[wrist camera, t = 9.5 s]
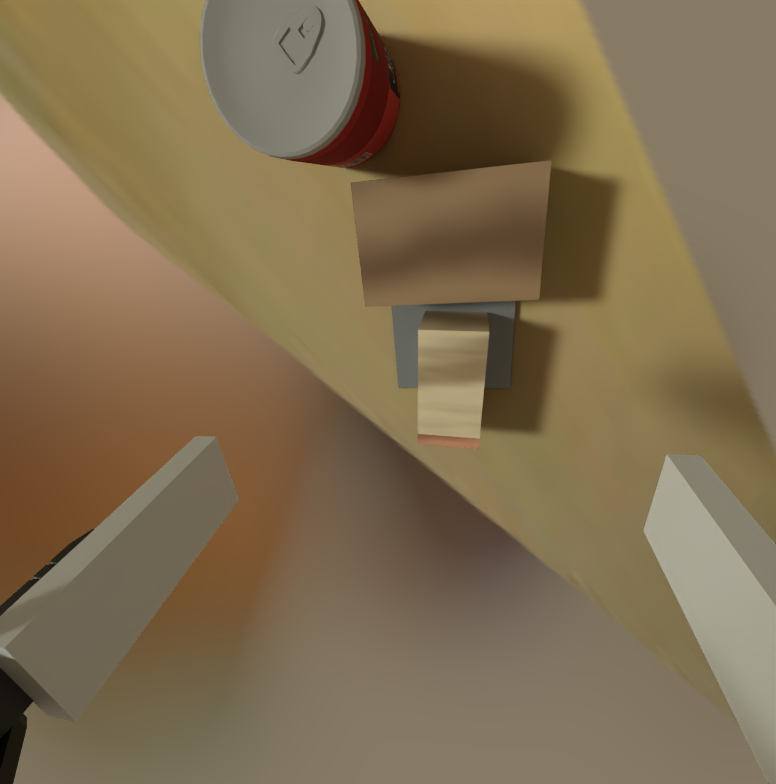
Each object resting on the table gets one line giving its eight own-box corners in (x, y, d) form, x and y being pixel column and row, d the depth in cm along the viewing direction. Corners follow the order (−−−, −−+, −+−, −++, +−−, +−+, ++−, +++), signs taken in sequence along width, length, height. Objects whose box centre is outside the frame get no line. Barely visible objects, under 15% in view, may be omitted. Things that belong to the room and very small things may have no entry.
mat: (392, 302, 33) (391, 303, 32) (515, 296, 30) (515, 298, 30) (399, 385, 36) (398, 387, 36) (509, 386, 34) (510, 388, 34)
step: (368, 183, 29) (350, 182, 24) (538, 164, 26) (551, 160, 22) (379, 290, 32) (365, 306, 28) (529, 283, 30) (539, 299, 25)
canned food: (425, 79, 25) (396, 13, 16) (362, 192, 29) (308, 194, 20) (329, -3, 24) (236, -125, 15) (276, 125, 28) (176, 93, 19)
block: (418, 329, 28) (417, 443, 32) (489, 331, 27) (478, 448, 31) (425, 310, 32) (424, 413, 37) (487, 311, 31) (477, 416, 36)
